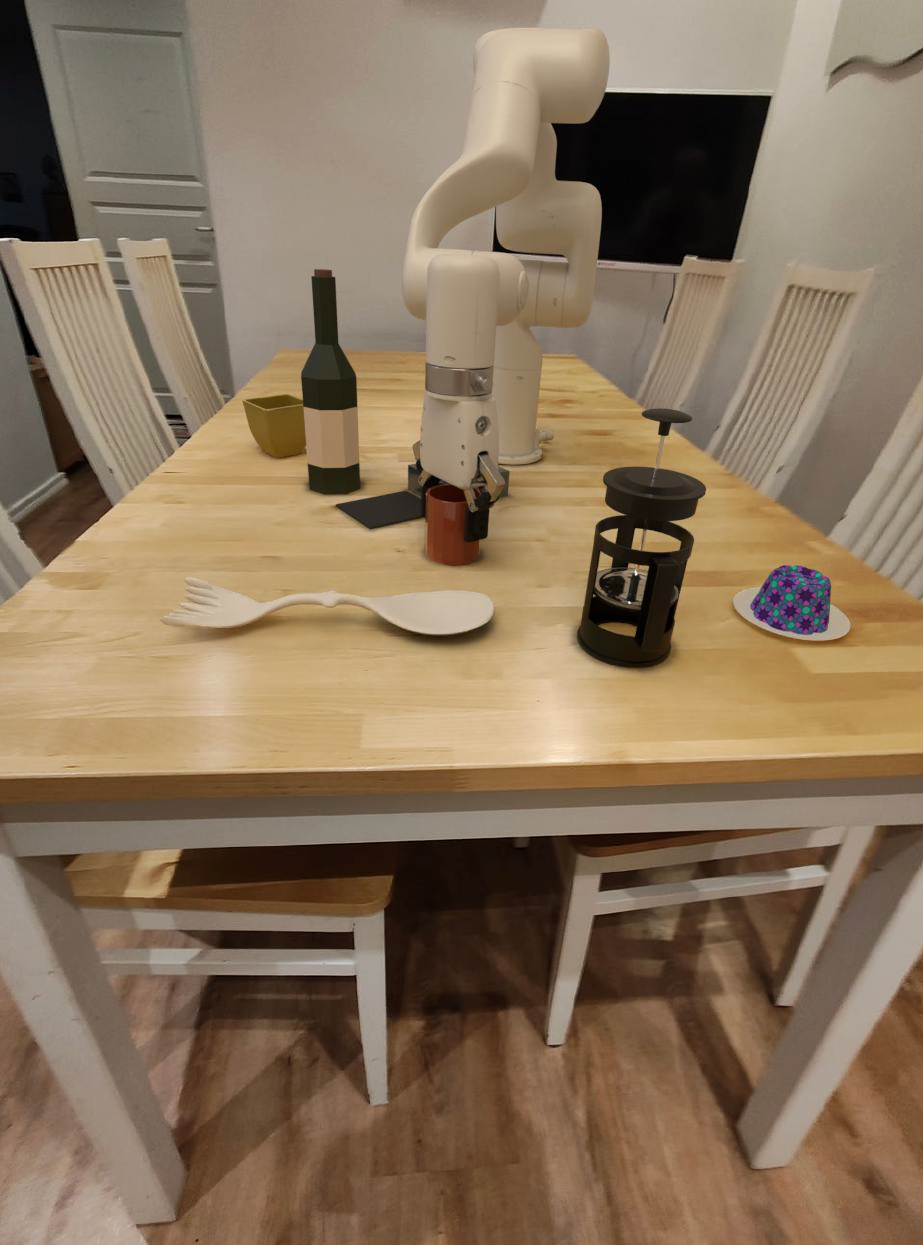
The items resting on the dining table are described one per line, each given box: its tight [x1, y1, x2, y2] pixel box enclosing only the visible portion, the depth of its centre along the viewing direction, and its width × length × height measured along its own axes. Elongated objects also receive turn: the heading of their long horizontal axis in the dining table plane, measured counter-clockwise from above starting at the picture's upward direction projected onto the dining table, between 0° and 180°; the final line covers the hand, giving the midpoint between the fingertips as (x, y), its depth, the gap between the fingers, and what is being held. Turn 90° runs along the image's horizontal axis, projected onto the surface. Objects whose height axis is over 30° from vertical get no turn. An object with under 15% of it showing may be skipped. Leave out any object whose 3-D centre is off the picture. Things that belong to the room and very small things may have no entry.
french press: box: [576, 407, 707, 669], centre depth 62 cm, size 12×9×23 cm
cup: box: [424, 484, 481, 566], centre depth 83 cm, size 7×7×8 cm
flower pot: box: [241, 393, 306, 459], centre depth 117 cm, size 9×9×9 cm
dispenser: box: [407, 463, 511, 499], centre depth 104 cm, size 12×10×6 cm
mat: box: [335, 490, 425, 530], centre depth 98 cm, size 12×10×1 cm
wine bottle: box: [300, 268, 361, 496], centre depth 98 cm, size 8×8×30 cm
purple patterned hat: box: [732, 564, 851, 641], centre depth 73 cm, size 12×12×5 cm
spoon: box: [159, 576, 496, 636], centre depth 68 cm, size 9×32×4 cm, turn 94°
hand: (453, 526), depth 84 cm, fingers open, 8 cm apart
